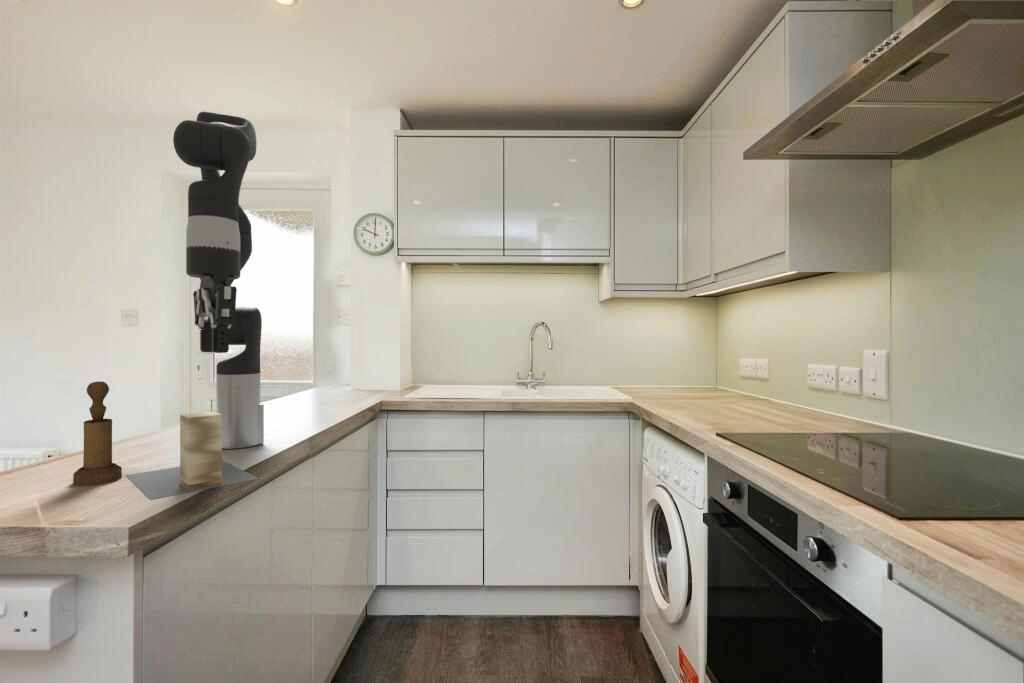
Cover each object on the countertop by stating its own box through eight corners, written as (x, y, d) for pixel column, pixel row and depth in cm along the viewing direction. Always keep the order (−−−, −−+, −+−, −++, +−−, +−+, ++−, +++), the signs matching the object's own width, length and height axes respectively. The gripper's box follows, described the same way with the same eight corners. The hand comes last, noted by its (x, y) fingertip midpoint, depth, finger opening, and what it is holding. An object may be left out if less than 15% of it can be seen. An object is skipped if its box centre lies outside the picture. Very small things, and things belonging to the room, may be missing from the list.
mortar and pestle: (93, 489, 83) (93, 383, 83) (63, 487, 85) (62, 382, 85) (131, 478, 90) (130, 380, 90) (102, 476, 91) (101, 379, 91)
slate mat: (222, 462, 102) (222, 459, 102) (258, 481, 88) (258, 478, 88) (125, 477, 90) (125, 475, 90) (150, 503, 77) (150, 499, 77)
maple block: (212, 477, 89) (212, 411, 89) (221, 483, 85) (221, 414, 85) (180, 483, 85) (180, 414, 85) (188, 489, 82) (188, 417, 82)
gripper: (255, 246, 78) (255, 353, 78) (225, 256, 88) (225, 351, 88) (200, 238, 72) (200, 354, 72) (175, 250, 82) (175, 352, 82)
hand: (214, 351), depth 80 cm, fingers open, 5 cm apart
